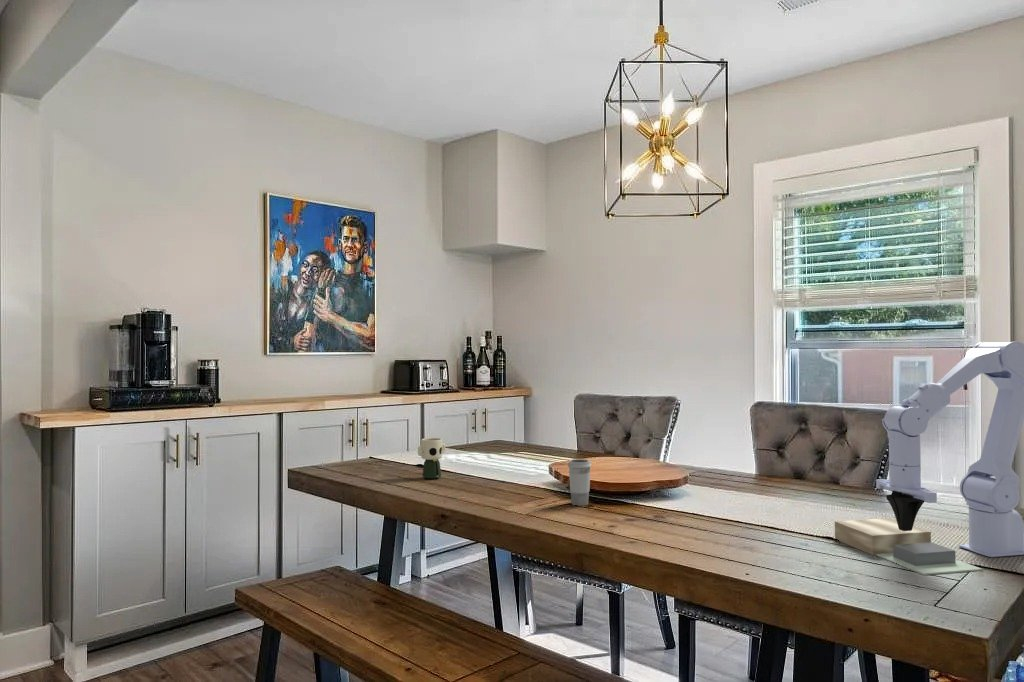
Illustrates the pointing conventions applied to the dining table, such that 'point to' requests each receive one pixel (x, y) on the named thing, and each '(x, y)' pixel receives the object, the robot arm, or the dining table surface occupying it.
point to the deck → (877, 535)
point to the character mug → (431, 456)
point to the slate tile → (924, 554)
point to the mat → (932, 566)
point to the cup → (579, 481)
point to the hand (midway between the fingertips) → (905, 530)
